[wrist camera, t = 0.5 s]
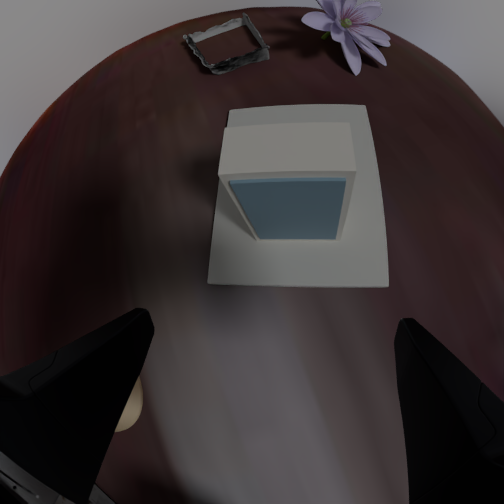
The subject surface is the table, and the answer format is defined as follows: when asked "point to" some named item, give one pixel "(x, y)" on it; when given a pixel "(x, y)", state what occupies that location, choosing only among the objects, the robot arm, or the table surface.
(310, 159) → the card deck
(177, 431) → the table surface
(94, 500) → the coffee box
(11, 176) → the table surface
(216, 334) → the table surface
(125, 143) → the table surface
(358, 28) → the water lily
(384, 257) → the mat
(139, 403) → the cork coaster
